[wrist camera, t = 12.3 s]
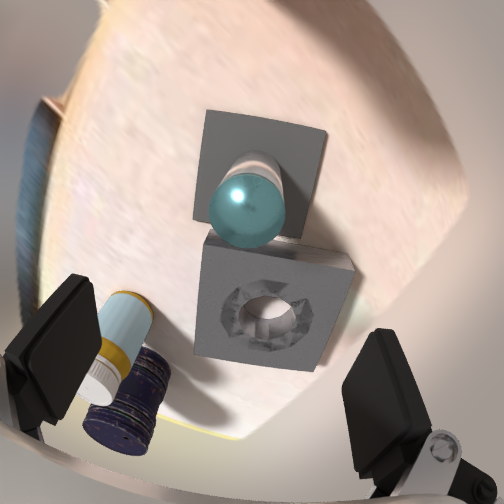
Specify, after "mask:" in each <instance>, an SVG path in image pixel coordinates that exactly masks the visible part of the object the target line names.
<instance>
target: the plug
mask: <svg viewBox="0 0 504 504" xmlns="http://www.w3.org/2000/svg"><path fill="white" fill-rule="evenodd" d="M209 219H210V222H211V225H212V227H213V229H214V230H215V232H216V233H217V234H218V236H219V237H220V238H222V239H223V240H224V241H226V242H227V243H229V244H231V245H233V246H236V247H240V248H256V247H260V246H262V245H265V244H267V243H269V242H270V241H271V240H273V239H274V238H275V237H276V236H277V235H278V233H279V232H280V230H281V229H282V226H283V224H284V220H285V205H284V197H283V188H282V180H281V172H280V167H279V165H278V163H277V161H276V160H275V159H274V158H273V157H272V156H271V155H269V154H268V153H266V152H263V151H249V152H246V153H244V154H242V155H241V156H240V157H238V158H237V160H236V161H235V162H234V164H233V165H232V167H231V168H230V170H229V171H228V173H227V174H226V176H225V177H224V179H223V180H222V182H221V183H220V185H219V186H218V188H217V189H216V191H215V192H214V194H213V196H212V198H211V200H210V204H209Z"/></svg>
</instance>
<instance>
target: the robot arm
mask: <svg viewBox="0 0 504 504" xmlns="http://www.w3.org/2000/svg"><path fill="white" fill-rule="evenodd" d="M101 346H102V337H101V331H100V326H99V320H98V315H97V308H96V302H95V295H94V288H93V284H92V283H91V282H90V281H89V278H88V277H86V276H82V275H78V274H71V275H70V276H69V277H68V278H67V279H66V280H65V281H64V282H63V283H62V284H61V285H60V286H59V287H58V289H57V290H56V291H55V292H54V293H53V294H52V295H51V296H50V297H49V298H48V299H47V301H46V302H45V303H44V304H43V305H42V306H41V307H40V308H39V310H38V311H37V312H36V313H35V314H34V315H33V316H32V318H31V319H30V320H29V321H28V322H27V323H26V325H25V326H24V327H23V328H22V329H21V331H20V332H19V333H18V334H17V336H16V337H15V338H14V339H13V340H12V342H11V343H10V344H9V345H8V347H7V348H6V349H5V354H4V356H3V357H2V355H1V354H0V504H504V500H503V499H502V498H501V497H498V498H496V497H497V486H496V483H495V482H494V480H493V479H492V478H491V477H490V476H489V475H487V474H486V473H484V472H482V471H481V470H479V469H478V468H476V467H475V466H473V465H471V464H470V463H468V462H467V461H465V460H464V459H462V458H461V454H462V449H461V445H460V443H459V440H458V439H457V438H456V436H454V435H453V434H452V433H451V432H449V431H446V430H440V429H439V430H435V431H433V432H432V429H431V426H432V424H431V421H430V419H429V416H428V413H427V410H426V408H425V405H424V402H423V399H422V397H421V394H420V392H419V389H418V386H417V384H416V381H415V379H414V376H413V374H412V372H411V369H410V366H409V364H408V362H407V359H406V357H405V355H404V352H403V350H402V348H401V345H400V343H399V341H398V338H397V336H396V334H395V332H394V330H392V329H382V328H377V329H376V330H375V331H374V332H371V333H370V334H369V336H368V338H367V340H366V341H365V343H364V345H363V347H362V349H361V351H360V353H359V355H358V357H357V358H356V361H355V362H354V364H353V366H352V368H351V369H350V371H349V373H348V375H347V377H346V378H345V380H344V382H343V385H342V396H343V401H344V407H345V413H346V419H347V425H348V431H349V437H350V443H351V450H352V456H353V463H354V469H355V471H356V472H359V478H360V479H368V478H373V481H374V486H373V487H372V489H371V491H370V492H369V493H368V495H367V496H366V498H365V499H364V500H352V501H337V502H315V503H287V502H285V503H284V502H264V501H252V500H240V499H232V498H224V497H217V496H210V495H204V494H198V493H192V492H187V491H182V490H177V489H173V488H168V487H164V486H160V485H157V484H153V483H149V482H145V481H141V480H138V479H135V478H131V477H128V476H125V475H122V474H119V473H116V472H113V471H109V470H107V469H104V468H101V467H98V466H96V465H93V464H91V463H88V462H86V461H83V460H81V459H78V458H76V457H73V456H71V455H69V454H67V453H64V452H62V451H59V450H57V449H55V448H53V447H51V446H49V445H47V444H45V443H44V439H43V436H42V432H41V429H40V425H41V423H42V421H46V422H48V423H50V424H52V425H54V426H56V424H57V422H58V420H62V419H63V418H64V416H65V414H66V412H67V410H68V408H69V406H70V404H71V402H72V400H73V399H74V397H75V395H76V393H77V391H78V389H79V387H80V385H81V383H82V382H83V380H84V378H85V376H86V374H87V373H88V371H89V369H90V367H91V365H92V364H93V362H94V360H95V358H96V356H97V355H98V353H99V351H100V349H101Z"/></svg>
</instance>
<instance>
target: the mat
mask: <svg viewBox="0 0 504 504" xmlns="http://www.w3.org/2000/svg"><path fill="white" fill-rule="evenodd" d="M325 133H326V131H325V130H320V129H316V128H312V127H307V126H303V125H298V124H293V123H288V122H283V121H278V120H273V119H267V118H262V117H256V116H250V115H243V114H237V113H230V112H222V111H215V110H206V116H205V123H204V130H203V137H202V144H201V151H200V159H199V167H198V175H197V183H196V192H195V201H194V210H193V220H197V221H203V222H209V223H211V222H210V219H209V204H210V200H211V198H212V196H213V194H214V192H215V191H216V189H217V188H218V186H219V185H220V183H221V182H222V180H223V179H224V177H225V176H226V174H227V173H228V171H229V170H230V168H231V167H232V165H233V164H234V162H235V161H236V160H237V158H238V157H240V156H241V155H242V154H244V153H246V152H249V151H263V152H266V153H268V154H269V155H271V156H272V157H273V158H274V159H275V160H276V161H277V163H278V165H279V167H280V172H281V180H282V188H283V197H284V205H285V220H284V224H283V226H282V229H281V230H280V232H279V233H278V235H282V236H288V237H293V238H299V239H301V235H302V231H303V227H304V223H305V219H306V215H307V211H308V207H309V203H310V199H311V195H312V191H313V186H314V182H315V178H316V174H317V169H318V165H319V160H320V156H321V152H322V147H323V143H324V138H325Z"/></svg>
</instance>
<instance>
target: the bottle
mask: <svg viewBox="0 0 504 504" xmlns="http://www.w3.org/2000/svg"><path fill="white" fill-rule="evenodd" d="M98 320H99V326H100V331H101V337H102V346H101V349H100V351H99V353H98V355H97V356H96V358H95V360H94V362H93V364H92V365H91V367H90V369H89V371H88V373H87V374H86V376H85V378H84V380H83V382H82V383H81V385H80V387H79V389H78V391H77V393H76V394H77V395H78V396H79V397H81V398H82V399H84V400H86V401H87V402H90V403H92V404H95V405H99V406H107V405H110V404H111V403H112V402H113V399H114V397H115V395H116V393H117V390H118V387H119V385H120V383H121V381H122V380H123V379H125V378H126V377H127V376H128V374H129V372H130V370H131V368H132V366H133V364H134V361H135V359H136V357H137V355H138V353H139V350H140V348H141V346H142V344H143V342H144V340H145V338H146V335H147V333H148V331H149V329H150V327H151V324H152V322H153V313H152V310H151V308H150V306H149V305H148V303H147V302H146V301H145V300H144V299H143V298H142V297H141V296H139V295H137V294H135V293H133V292H129V291H118V292H115V293H114V294H112V295H111V297H110V298H109V299H108V300H107V302H106V303H105V305H104V306H103V308H102V309H101V310H100V312H99V313H98Z"/></svg>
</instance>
